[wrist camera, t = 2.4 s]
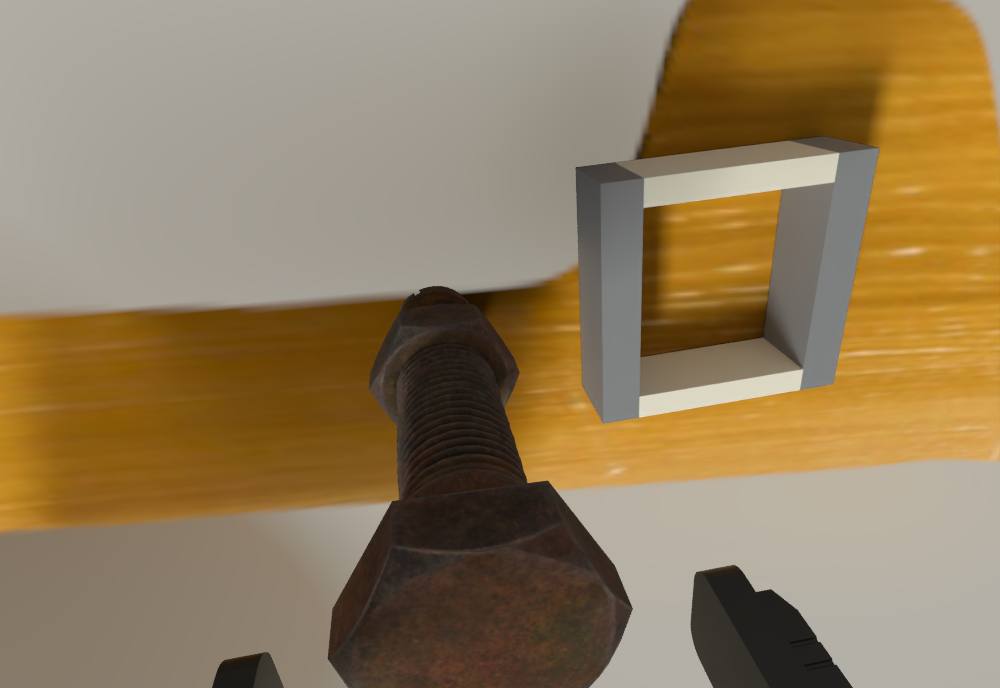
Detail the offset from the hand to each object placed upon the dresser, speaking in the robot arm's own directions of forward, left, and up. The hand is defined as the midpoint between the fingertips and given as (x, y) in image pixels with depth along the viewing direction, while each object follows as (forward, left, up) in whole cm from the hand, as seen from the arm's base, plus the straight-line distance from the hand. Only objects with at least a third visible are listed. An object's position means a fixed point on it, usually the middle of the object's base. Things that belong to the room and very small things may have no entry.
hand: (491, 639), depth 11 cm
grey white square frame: (+11, +1, -15) cm, 18 cm away
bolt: (0, 0, -15) cm, 15 cm away
